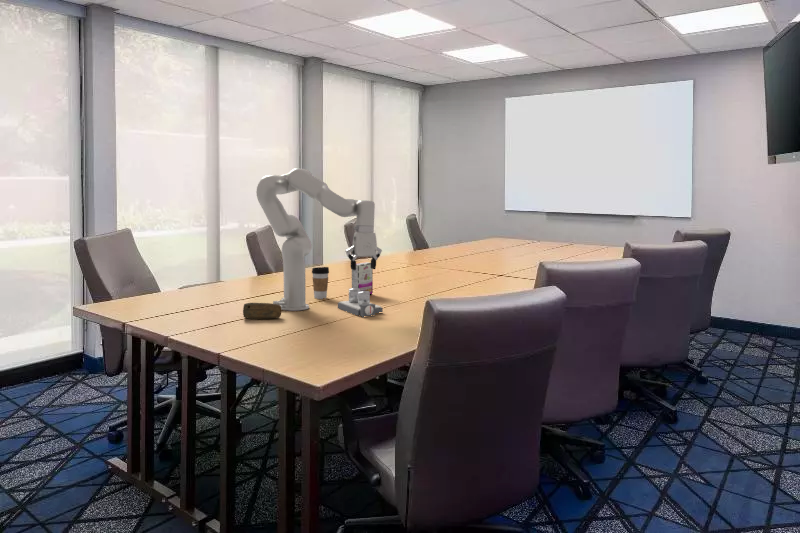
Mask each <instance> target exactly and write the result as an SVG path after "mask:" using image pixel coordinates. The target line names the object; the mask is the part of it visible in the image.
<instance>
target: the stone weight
mask: <svg viewBox="0 0 800 533" xmlns="http://www.w3.org/2000/svg"><path fill="white" fill-rule="evenodd" d="M281 314H282V309H281V305H278V304H273V303H270V302H246V303H244V304H243V308H242V315H243V318H244V319H249V320H272V319H273V320H274V319H280V317H281V316H282V315H281Z"/></svg>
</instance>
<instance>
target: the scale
mask: <svg viewBox="0 0 800 533" xmlns="http://www.w3.org/2000/svg"><path fill="white" fill-rule="evenodd" d="M338 308H339V309H338ZM337 309H338V310H341V311H344V312H346V311H347V312H346V313H349V312H350V313H349V314H351V313H352V314H351V315H354V314H355V315H354V316H356V315H358V316H357V317H360V316H362V317H361V318H365V317H364V316H371V315H375V316H376V314H375V313H379V312H384V311H383V307H382V306H381V305H378V304H376V303H373V302H370V304H364V305H360V306H358V303H349V300H344V301H339V302H337ZM359 315H360V316H359ZM371 317H372V316H371Z"/></svg>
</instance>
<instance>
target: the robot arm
mask: <svg viewBox="0 0 800 533" xmlns="http://www.w3.org/2000/svg"><path fill="white" fill-rule="evenodd" d="M297 191H299V192H301V193H303V195H304V194H305V195H306V196H308V197H310V198H312V199H313V200H314V201H316V202H317V203H318V204H320V205H321V206H322V207H324V208H325V209H327V210H328V211H330V212H332V213H333V214H335V215H337V216H339V217H341V218H350V217H356V219H355V220H356V221H355V222H356V223H355V226H353V231H355V232H354V233H353V239H352V245H351V246H350V247H348V248H347V249H345V254H346V255H347V258H348V259H349V261H350V270H351V271H352V270H356V264H357V260H356V259H357V258H358V257H370V258H371V259H370V263H371V269H373V270H376V267H377V261H378V259H379V258H380V256H381V255H382V252H383V250H382V248H379V247H378V245H377V244H378V243H377V236H376V235H377V234H376V232H374V231H375V230H374V227H375V209H376V203H375V202H374V201H372V200H361V199H360V200H358V199H354V198H353V199H352V198H344V197H343V196H341V195H339V194H337V193H336V192H335V191H333V190H331V189H330V187H329V186H328V184H327V183H326V182H324V180H321V179H319V178H317V177H315V176H314V175H313V173H311V171H309V169H306V168H293V169H292V170H290V171H289V172H288V173H285V174H281V175H280V174H279V175H277V174H268V175H265V176H263V177H262V178H261V179H260V181H259V182H258V184H257V186H256V191H255V192H256V198H257V201H258V203H259V206H260V208H261V209H262V211H263V212H264V215H265V216H266V218H267V220H268V222H269V224H270V226H271V228H272V230H273V232H274V234H275V235H277V237H281V238H286V240H284V242H283V243H282V245H281V257H282V266H283V267H282V268H283V271H282V272H283V297H281V299H279V300H273V302H272V304H278V305H280V306H281V311H282V310H283V311H290V312H295V311H297V312H298V311H299V312H300V311H305V310H308V309H309V308H310V304H308V303H306V263H305V257H307V256H308V255H309V254H310V253H311V251H312V246H313V245H312V242H311V239H310V236H309V235H308V234H307V231H306V230H305V228H304V226H303V224H302V222H301V221H300V219H299V218H298V217H297V216H295V215H293V214H288V212H287V211H286V209H285V208H284V205H283V203H282V202H281V201H280V199H279V198H278V196H277V195H285V194H289V193H293V192H297ZM351 253H352V254H351Z"/></svg>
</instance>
